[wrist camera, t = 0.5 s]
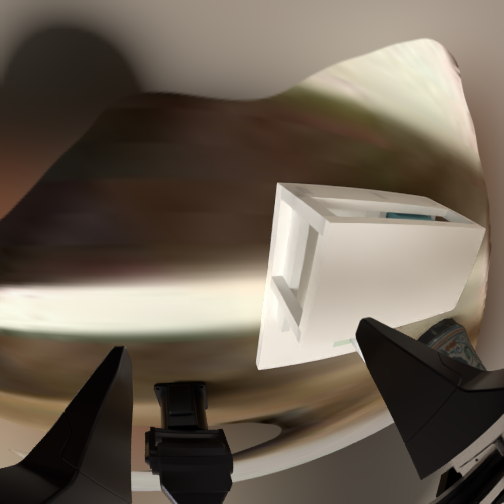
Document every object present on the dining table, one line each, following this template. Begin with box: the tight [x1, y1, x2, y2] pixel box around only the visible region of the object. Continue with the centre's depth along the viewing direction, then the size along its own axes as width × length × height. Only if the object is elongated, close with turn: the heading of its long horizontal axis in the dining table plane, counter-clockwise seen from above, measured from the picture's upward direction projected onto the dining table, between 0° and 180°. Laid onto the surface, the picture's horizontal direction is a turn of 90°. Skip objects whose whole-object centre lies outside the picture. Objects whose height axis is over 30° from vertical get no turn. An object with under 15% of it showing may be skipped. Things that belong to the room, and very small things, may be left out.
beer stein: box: [417, 319, 487, 371], centre depth 32 cm, size 16×19×25 cm
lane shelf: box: [256, 183, 486, 370], centre depth 24 cm, size 21×18×9 cm
